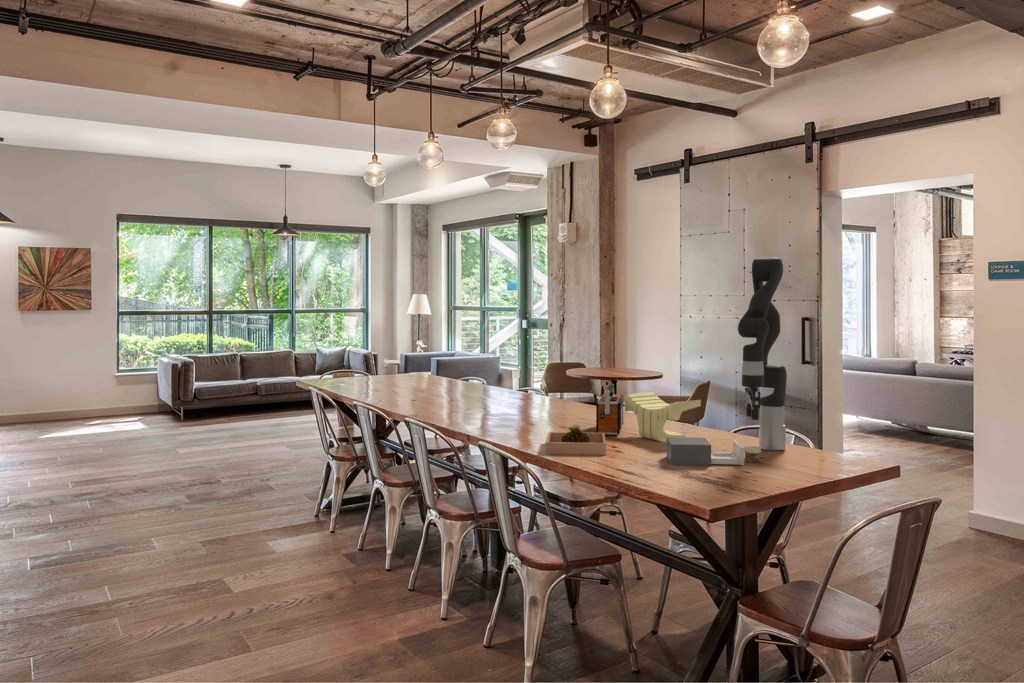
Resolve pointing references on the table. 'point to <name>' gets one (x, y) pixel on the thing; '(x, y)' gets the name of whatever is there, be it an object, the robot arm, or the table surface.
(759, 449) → the cream domed part
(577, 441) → the cactus
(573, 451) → the planter frame
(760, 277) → the robot arm
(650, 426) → the slatted curved stool
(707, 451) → the housing
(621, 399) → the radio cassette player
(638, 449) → the table surface
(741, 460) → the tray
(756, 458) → the pedestal
